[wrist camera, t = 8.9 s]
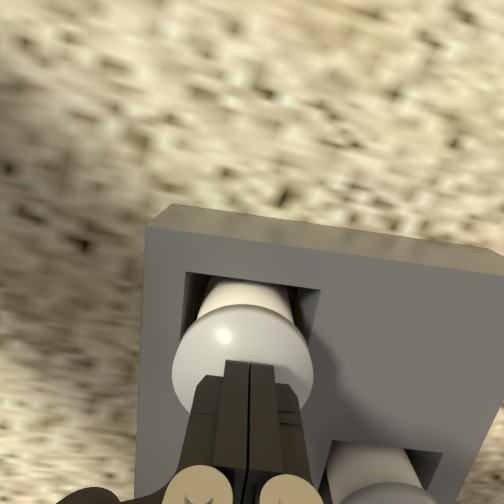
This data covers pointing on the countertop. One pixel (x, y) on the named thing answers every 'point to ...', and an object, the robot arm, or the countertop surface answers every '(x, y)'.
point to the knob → (242, 337)
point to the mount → (337, 337)
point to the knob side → (372, 475)
